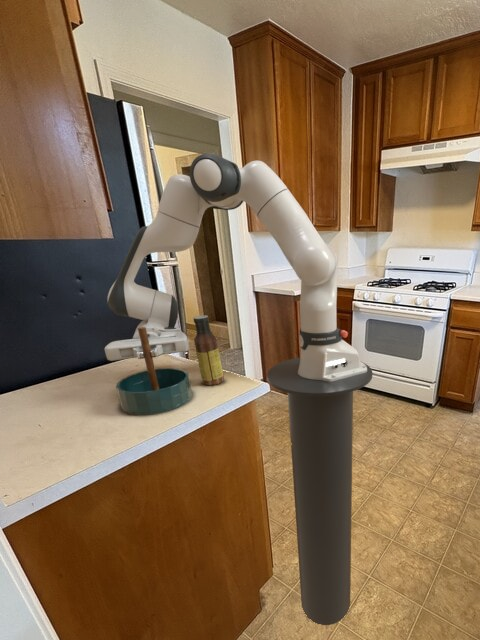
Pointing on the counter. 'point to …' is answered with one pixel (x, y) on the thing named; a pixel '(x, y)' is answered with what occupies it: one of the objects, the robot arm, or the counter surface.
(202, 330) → the sauce bottle
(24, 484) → the counter surface
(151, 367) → the wooden dowel stand
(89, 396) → the counter surface
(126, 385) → the bowl
